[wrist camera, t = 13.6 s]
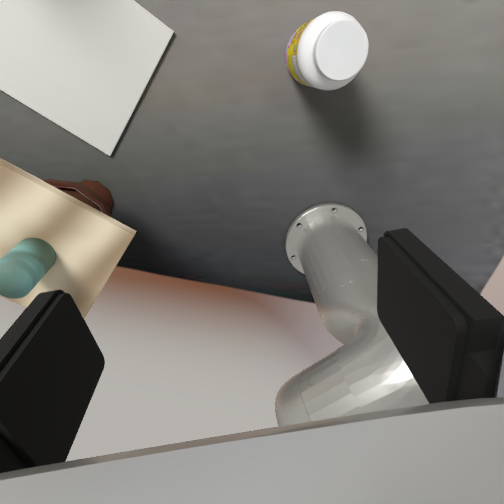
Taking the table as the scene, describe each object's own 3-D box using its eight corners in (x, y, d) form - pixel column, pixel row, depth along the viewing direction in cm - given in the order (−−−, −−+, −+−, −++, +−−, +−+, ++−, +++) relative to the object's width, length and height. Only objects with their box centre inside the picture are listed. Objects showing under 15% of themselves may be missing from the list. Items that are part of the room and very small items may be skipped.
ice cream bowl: (73, 240, 51) (19, 301, 37) (37, 167, 45) (-41, 208, 32) (142, 227, 50) (112, 284, 37) (114, 152, 45) (67, 187, 32)
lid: (136, 231, 34) (120, 260, 29) (81, 322, 39) (59, 361, 34) (-12, 151, 30) (-62, 170, 24) (-53, 266, 35) (-102, 302, 29)
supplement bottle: (328, 10, 39) (368, -13, 28) (346, 69, 42) (390, 69, 31) (275, 40, 40) (293, 30, 29) (296, 95, 43) (321, 106, 32)
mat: (174, 31, 39) (173, 31, 38) (110, 155, 45) (109, 156, 45) (21, -88, 33) (18, -90, 33) (-28, 71, 39) (-30, 71, 39)
